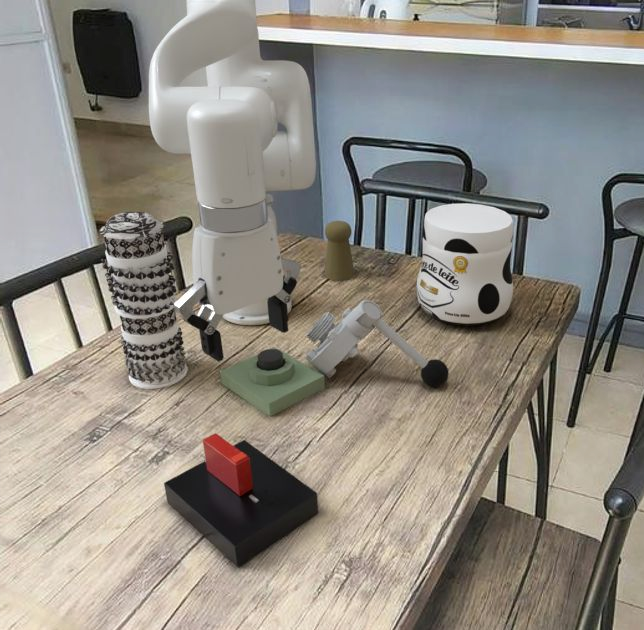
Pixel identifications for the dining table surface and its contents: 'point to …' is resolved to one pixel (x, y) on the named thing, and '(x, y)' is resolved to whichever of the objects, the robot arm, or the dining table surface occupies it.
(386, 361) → the dining table surface
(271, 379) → the button housing
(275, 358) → the stop button
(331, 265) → the olive brown pawn
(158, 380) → the decorative candle
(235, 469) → the tap handle
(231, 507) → the base
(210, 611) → the dining table surface
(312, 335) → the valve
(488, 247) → the milk container
